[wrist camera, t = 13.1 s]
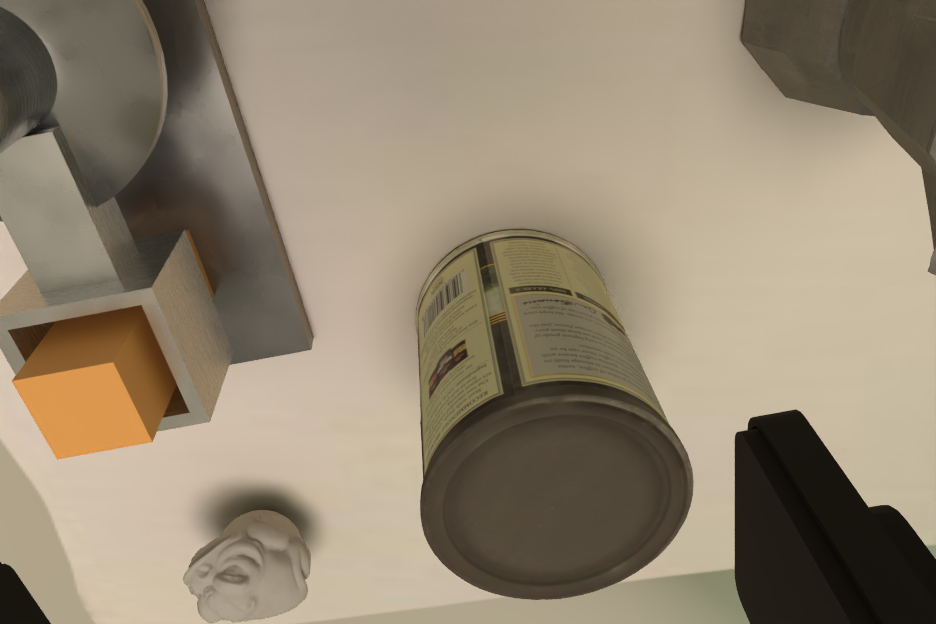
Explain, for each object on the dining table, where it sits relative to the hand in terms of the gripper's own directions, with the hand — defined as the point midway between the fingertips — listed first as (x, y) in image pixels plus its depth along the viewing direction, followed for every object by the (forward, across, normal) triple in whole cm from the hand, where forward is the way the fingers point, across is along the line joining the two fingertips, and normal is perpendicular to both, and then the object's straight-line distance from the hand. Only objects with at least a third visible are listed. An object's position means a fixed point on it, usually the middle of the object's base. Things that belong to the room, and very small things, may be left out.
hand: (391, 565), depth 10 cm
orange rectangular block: (+27, +13, +7) cm, 31 cm away
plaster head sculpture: (+28, +14, +25) cm, 40 cm away
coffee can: (+28, -3, +14) cm, 32 cm away
